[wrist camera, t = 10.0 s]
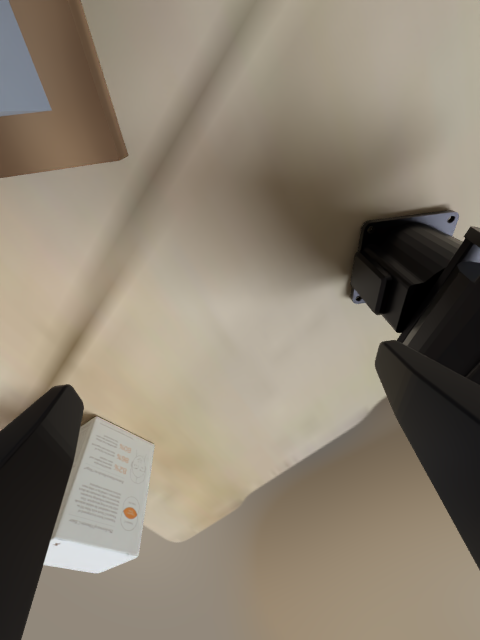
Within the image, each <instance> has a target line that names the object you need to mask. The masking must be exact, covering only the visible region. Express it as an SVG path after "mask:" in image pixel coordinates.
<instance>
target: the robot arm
mask: <svg viewBox="0 0 480 640" xmlns="http://www.w3.org/2000/svg"><path fill="white" fill-rule="evenodd" d="M450 216H451V218H450V219H449V220H448V218H449V217H450ZM458 218H459V215H458V213H457V212H455V211H452V210H448V211H440V212H432V213H425V214H417V215H409V216H401V217H393V218H385V219H377V220H370V221H367V222H365V223H364V224H363V226H362V228H361V234H360V241H359V247H358V252H357V253H356V254H355V257H354V264H353V270H352V277H351V286H352V291H351V300H352V301H353V302H354V303H355V304H360V303H366V304H367V305H368V306H369V307H370V309H371V310H372V311H373V312H374V313H375V314H376V315H382V316H383V317H384V318H385V319H386V320H387V322H388V323H389V324H390V325H391V326H392V327H393V329H394V330H395V331H396V332H397V333H401V335H400V336H399V338H398V339H397V341H396V340H391V341H384V342H381V343H380V345H379V348H378V352H377V356H376V360H375V368H376V371H377V373H378V376H379V378H380V381H381V383H382V385H383V388H384V390H385V393H386V395H387V397H388V400H389V402H390V405H391V407H392V409H393V412H394V414H395V416H396V418H397V420H398V422H399V424H400V426H401V428H402V429H403V431H404V433H405V435H406V437H407V438H408V440H409V442H410V444H411V445H412V448H413V449H414V451H415V453H416V455H417V457H418V458H419V460H420V462H421V464H422V466H423V467H424V469H425V471H426V473H427V475H428V477H429V478H430V480H431V482H432V484H433V485H434V488H435V489H436V491H437V493H438V495H439V497H440V499H441V500H442V502H443V504H444V506H445V508H446V509H447V511H448V513H449V515H450V517H451V519H452V520H453V522H454V524H455V526H456V528H457V530H458V531H459V533H460V535H461V537H462V539H463V541H464V542H465V544H466V546H467V548H468V550H469V551H470V553H471V555H472V557H473V559H474V560H475V562H476V564H477V566H478V568H479V570H480V228H477V227H473V226H471V227H470V228H469V230H468V231H467V233H466V234H465V236H464V237H465V240H464V241H463V242H462V241H460V240H458V239H456V238H454V237H452V235H453V232H454V230H455V227H456V224H457V221H458ZM447 220H448V221H447ZM370 226H372V229H371V230H370V231H367V230H368V228H369V227H370ZM357 296H359V297H358V298H356V297H357ZM83 410H84V405H83V402H82V400H81V399H80V397H79V396H78V394H77V393H76V391H75V390H74V388H73V387H72V386H71V385H69V384H66V385H58V386H54V387H52V388H51V389H50V390H49V391H47V392H46V393H45V394H44V395H43V396H42V397H40V398H39V399H38V400H37V401H36V402H34V403H33V404H32V405H31V406H30V407H29V408H27V409H26V410H25V411H24V412H23V413H21V414H20V415H19V416H18V417H17V418H16V419H14V420H13V421H12V422H11V423H10V424H8V425H7V426H6V427H5V428H4V429H3V430H1V431H0V640H21V638H22V635H23V631H24V628H25V625H26V621H27V618H28V614H29V611H30V608H31V605H32V601H33V598H34V594H35V591H36V588H37V584H38V581H39V577H40V574H41V571H42V567H43V564H44V561H45V557H46V554H47V551H48V547H49V544H50V541H51V537H52V534H53V530H54V527H55V524H56V520H57V517H58V514H59V510H60V507H61V503H62V500H63V497H64V493H65V490H66V487H67V483H68V480H69V476H70V473H71V470H72V466H73V462H74V458H75V454H76V448H77V443H78V437H79V432H80V427H81V421H82V416H83Z"/></svg>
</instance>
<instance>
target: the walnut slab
mask: <svg viewBox="0 0 480 640" xmlns="http://www.w3.org/2000/svg"><path fill="white" fill-rule="evenodd" d="M8 1H9V3H10V6H11V8H12V11H13V13H14V16H15V18H16V21H17V23H18V26H19V28H20V31H21V33H22V36H23V38H24V41H25V43H26V46H27V49H28V51H29V54H30V56H31V59H32V61H33V64H34V66H35V69H36V71H37V74H38V76H39V79H40V81H41V84H42V86H43V89H44V92H45V94H46V97H47V99H48V102H49V104H50V107H51V109H52V110H51V111H43V112H34V113H25V114H17V115H8V116H0V178H4V177H11V176H17V175H24V174H31V173H38V172H44V171H51V170H58V169H65V168H71V167H78V166H85V165H92V164H98V163H105V162H112V161H119V160H121V159H123V158H125V157H127V156H128V153H127V150H126V146H125V143H124V140H123V137H122V134H121V130H120V127H119V124H118V121H117V117H116V114H115V111H114V108H113V104H112V101H111V98H110V95H109V91H108V88H107V85H106V82H105V78H104V75H103V72H102V69H101V65H100V62H99V59H98V56H97V52H96V49H95V46H94V43H93V39H92V36H91V33H90V30H89V26H88V23H87V20H86V17H85V13H84V10H83V7H82V4H81V0H8Z"/></svg>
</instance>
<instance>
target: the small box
mask: <svg viewBox="0 0 480 640" xmlns="http://www.w3.org/2000/svg"><path fill="white" fill-rule="evenodd" d="M154 447H155V445H154V444H153V443H151V442H148V441H146V440H144V439H142V438H140V437H138V436H136V435H134V434H132V433H130V432H128V431H126V430H124V429H122V428H120V427H118V426H116V425H114V424H112V423H110V422H108V421H106V420H104V419H102V418H100V417H98V416H96V417H94V418H93V419H91V420H90V421H88V422H87V423H85V424H84V425H83V426H81V427H80V432H79V437H78V443H77V448H76V454H75V458H74V462H73V466H72V470H71V473H70V476H69V480H68V483H67V487H66V490H65V493H64V497H63V500H62V503H61V507H60V510H59V514H58V517H57V520H56V524H55V527H54V530H53V534H52V537H51V541H50V544H49V547H48V551H47V554H46V557H45V561H44V564H43V565H48V566H54V567H60V568H66V569H73V570H79V571H85V572H91V573H100V572H103V571H105V570H108V569H110V568H113V567H115V566H118V565H120V564H122V563H125V562H127V561H130V560H132V559H134V558H137V556H138V555H139V549H140V542H141V535H142V529H143V522H144V515H145V509H146V501H147V495H148V488H149V481H150V474H151V467H152V460H153V453H154Z"/></svg>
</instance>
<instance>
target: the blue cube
mask: <svg viewBox="0 0 480 640" xmlns="http://www.w3.org/2000/svg"><path fill="white" fill-rule="evenodd" d="M51 110H52V109H51V107H50V104H49V102H48V99H47V97H46V94H45V92H44V89H43V86H42V84H41V81H40V79H39V76H38V74H37V71H36V69H35V66H34V64H33V61H32V59H31V56H30V54H29V51H28V49H27V46H26V43H25V41H24V38H23V36H22V33H21V31H20V28H19V26H18V23H17V21H16V18H15V16H14V13H13V11H12V8H11V6H10V3H9V1H8V0H0V116H8V115H17V114H25V113H34V112H43V111H51Z"/></svg>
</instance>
